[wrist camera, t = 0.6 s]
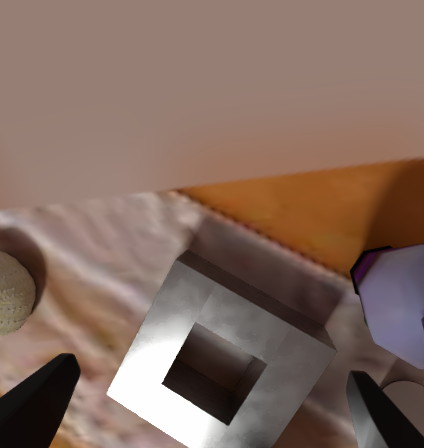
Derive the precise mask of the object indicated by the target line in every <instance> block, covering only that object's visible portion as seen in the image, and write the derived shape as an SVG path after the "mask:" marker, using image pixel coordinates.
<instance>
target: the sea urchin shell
mask: <svg viewBox="0 0 424 448" xmlns="http://www.w3.org/2000/svg"><path fill="white" fill-rule="evenodd" d="M35 290H36V286H35V284H34V280H33V278H32V277H31V275H30V274H29V272H28V271H27V269H26V268H24V267H23V266H22V265H21V264H20V263H19V262H18V261H17V259H15V258H14V257H12V256H10V255H8V254H7V253H5V252H1V251H0V336H4V335H8V334H11V333H12V332H15V331H16V330H18V329H19V328H21V326H23V324H24V323H25V321H26V319H27V318H28V317H29V315H30V313H31V311H32V306H33V305H34V301H35V299H36V298H35Z"/></svg>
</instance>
